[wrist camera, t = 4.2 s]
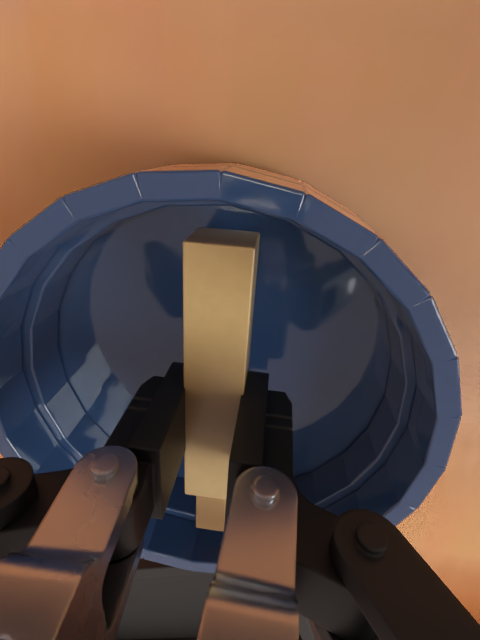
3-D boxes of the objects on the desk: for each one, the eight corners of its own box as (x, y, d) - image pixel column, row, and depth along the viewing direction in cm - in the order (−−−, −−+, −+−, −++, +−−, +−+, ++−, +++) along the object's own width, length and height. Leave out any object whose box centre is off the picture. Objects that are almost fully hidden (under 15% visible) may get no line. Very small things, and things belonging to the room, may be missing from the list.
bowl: (388, 94, 9) (443, 67, 6) (429, 470, 14) (471, 561, 11) (-30, 232, 12) (-141, 262, 9) (130, 505, 17) (95, 586, 14)
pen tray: (284, 500, 16) (284, 559, 14) (328, 628, 20) (334, 690, 18) (16, 529, 19) (-20, 581, 17) (100, 635, 23) (80, 689, 21)
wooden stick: (198, 226, 9) (181, 241, 8) (260, 231, 9) (255, 248, 8) (195, 494, 14) (184, 535, 12) (237, 500, 14) (231, 542, 12)
